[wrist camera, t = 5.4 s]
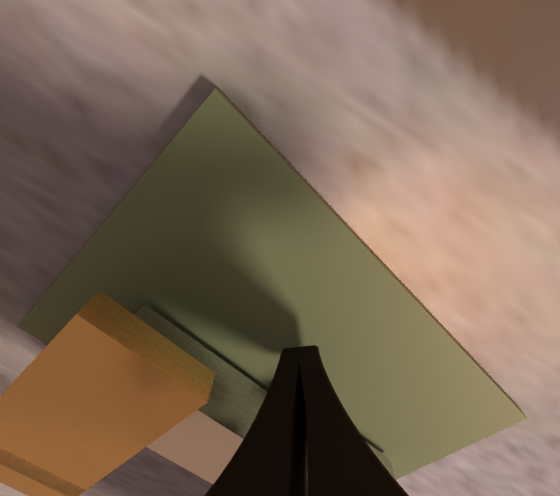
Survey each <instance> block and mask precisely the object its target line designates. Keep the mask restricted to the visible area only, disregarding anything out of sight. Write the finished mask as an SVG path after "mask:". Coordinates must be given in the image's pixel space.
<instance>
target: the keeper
mask: <svg viewBox="0 0 560 496" xmlns="http://www.w3.org/2000/svg"><path fill="white" fill-rule="evenodd" d="M214 377H215V372H213V371H212V370H210V369H209V368H208V367H206V366H205V365H203V364H202V363H201V362H199V361H198V360H196V359H195V358H194V357H192V356H191V355H189V354H188V353H187V352H185V351H184V350H182V349H181V348H180V347H178V346H177V345H175V344H174V343H173V342H171V341H170V340H168V339H167V338H166V337H164V336H163V335H161V334H160V333H159V332H157V331H156V330H154V329H153V328H152V327H150V326H149V325H147V324H146V323H145V322H143V321H142V320H140V319H139V318H138V317H136V316H135V315H133V314H132V313H131V312H129V311H128V310H126V309H125V308H124V307H122V306H121V305H119V304H118V303H117V302H115V301H114V300H112V299H111V298H110V297H108V296H107V295H105V294H104V293H103V292H101V291H100V290H99V291H98V292H97V293H96V294H95V295H94V296H93V297H92V298H91V299H90V300H89V302H88V303H87V304H86V305H85V306H84V307H83V308H82V309H81V310H80V311H79V312H78V313H77V314H76V315H75V316H74V317H73V318H72V319H71V320H70V321H69V322H68V323H67V325H66V326H65V327H64V328H63V329H62V330H61V331H60V332H59V333H58V334H57V335H56V337H55V338H54V339H53V340H52V341H51V342H50V343H49V344H48V345H47V346H46V347H45V348H44V350H43V351H42V352H41V353H40V354H39V355H38V356H37V357H36V358H35V359H34V360H33V361H32V363H31V364H30V365H29V366H28V367H27V368H26V369H25V370H24V371H23V372H22V373H21V375H20V376H19V377H18V378H17V379H16V380H15V381H14V382H13V383H12V384H11V385H10V386H9V388H8V389H7V390H6V391H5V392H4V393H3V394H2V395H1V396H0V482H1V483H3V484H5V485H7V486H9V487H12V488H14V489H16V490H18V491H20V492H22V493H24V494H27V495H29V496H79V495H80V494H82V493H83V492H84V491H86V490H87V489H88V488H90V487H91V486H93V485H94V484H95V483H97V482H98V481H100V480H101V479H102V478H104V477H105V476H106V475H108V474H109V473H111V472H112V471H113V470H115V469H116V468H118V467H119V466H120V465H122V464H123V463H124V462H126V461H127V460H129V459H130V458H131V457H133V456H134V455H135V454H137V453H138V452H140V451H141V450H142V449H144V448H145V447H147V446H148V445H149V444H151V443H152V442H153V441H155V440H156V439H158V438H159V437H160V436H162V435H163V434H165V433H166V432H167V431H169V430H170V429H171V428H173V427H174V426H176V425H177V424H178V423H180V422H181V421H183V420H184V419H185V418H187V417H188V416H189V415H191V414H192V413H194V412H195V411H196V410H198V409H199V408H200V407H202V406H203V405H205V404H206V403H207V402H208V399H209V395H210V392H211V388H212V384H213V381H214Z"/></svg>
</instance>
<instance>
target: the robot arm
mask: <svg viewBox="0 0 560 496" xmlns="http://www.w3.org/2000/svg"><path fill="white" fill-rule="evenodd" d="M307 469H308V483H307ZM205 496H409V495H408V494H407V493H406V492H405V491H404V490H403V488H402V487H401V486H400V485H399V484H398V482H397V481H396V480H395V479H394V478H393V477H392V475H391V474H390V473H389V471H388V470H387V469H386V468H385V466H384V465H383V464H382V462H381V461H380V460H379V459H378V457H377V456H376V455H375V453H374V452H373V451H372V450H371V448H370V447H369V445H368V444H367V442H366V441H365V440H364V438H363V437H362V435H361V434H360V432H359V431H358V429H357V428H356V426H355V425H354V423H353V422H352V420H351V418H350V417H349V415H348V414H347V412H346V410H345V408H344V407H343V405H342V403H341V401H340V400H339V398H338V396H337V394H336V392H335V390H334V388H333V386H332V384H331V382H330V380H329V378H328V375H327V373H326V371H325V368H324V366H323V363H322V360H321V357H320V353H319V347H317V346H316V345H311V346H302V347H292V348H284V349H283V350H282V351H281V355H280V359H279V362H278V365H277V368H276V371H275V374H274V377H273V379H272V382H271V384H270V387H269V389H268V392H267V394H266V396H265V399H264V401H263V403H262V405H261V407H260V409H259V411H258V413H257V415H256V417H255V419H254V421H253V423H252V425H251V427H250V429H249V430H248V432H247V434H246V436H245V437H244V439H243V441H242V443H241V444H240V446H239V447H238V449H237V451H236V452H235V454H234V455H233V457H232V458H231V460H230V462H229V463H228V464H227V466H226V467H225V469H224V470H223V472H222V473H221V475H220V476H219V477H218V479H217V480H216V481H215V483H214V484H213V485H212V487H211V488H210V489H209V491H208V492H207V493H206V495H205Z"/></svg>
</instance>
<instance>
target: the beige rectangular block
mask: <svg viewBox="0 0 560 496" xmlns="http://www.w3.org/2000/svg"><path fill="white" fill-rule="evenodd" d="M134 315H135V316H136V317H138V318H139V319H140V320H142V321H143V322H145V323H146V324H147V325H149V326H150V327H152V328H153V329H154V330H156V331H157V332H159V333H160V334H161V335H163V336H164V337H166V338H167V339H168V340H170V341H171V342H173V343H174V344H175V345H177V346H178V347H180V348H181V349H182V350H184V351H185V352H187V353H188V354H189V355H191V356H192V357H194V358H195V359H196V360H198V361H199V362H201V363H202V364H203V365H205V366H206V367H208V368H209V369H210V370H212V371H213V372H215V377H214V381H213V384H212V388H211V392H210V395H209V399H208V402H207V403H206V404H205V405H203V406H202V407H200V408H199V409H198V410H196V411H195V412H194V413H192V414H191V415H189V416H188V417H187V418H185V419H184V420H183V421H181V422H180V423H178V424H177V425H176V426H174V427H173V428H171V429H170V430H169V431H167V432H166V433H165V434H163V435H162V436H160V437H159V438H158V439H156V440H155V441H153V442H152V443H151V444H149V445H148V446H147V448H149V449H151V450H152V451H154V452H156V453H158V454H159V455H161V456H163V457H165V458H167V459H168V460H170V461H172V462H174V463H176V464H177V465H179V466H181V467H183V468H184V469H186V470H188V471H190V472H192V473H193V474H195V475H197V476H199V477H200V478H202V479H204V480H206V481H208V482H209V483H211V484H214V483H215V481H216V480H217V479H218V477H219V476H220V475H221V473H222V472H223V470H224V469H225V467H226V466H227V464H228V463H229V462H230V460H231V458H232V457H233V455H234V454H235V452H236V451H237V449H238V447H239V446H240V444H241V443H242V441H243V439H244V437H245V436H246V434H247V432H248V430H249V429H250V427H251V425H252V423H253V421H254V419H255V417H256V415H257V413H258V411H259V409H260V407H261V405H262V403H263V401H264V399H265V396H266V394H267V391H266V390H264V389H263V388H261V387H260V386H259V385H257V384H256V383H254V382H253V381H252V380H250V379H249V378H247V377H246V376H245V375H243V374H242V373H240V372H239V371H238V370H236V369H235V368H233V367H232V366H231V365H229V364H228V363H226V362H225V361H224V360H222V359H221V358H219V357H218V356H217V355H215V354H214V353H212V352H211V351H210V350H208V349H207V348H205V347H204V346H203V345H201V344H200V343H198V342H197V341H196V340H194V339H193V338H191V337H190V336H189V335H187V334H186V333H184V332H183V331H182V330H180V329H179V328H177V327H176V326H175V325H173V324H172V323H170V322H169V321H168V320H166V319H165V318H163V317H162V316H160V315H159V314H158V313H156V312H155V311H153V310H152V309H151V308H149V307H148V306H146V305H145V304H144V305H143V306H142V307H141V308H140V309H139V310H138V311H137V312H136V313H135V314H134ZM367 444H368V443H367ZM368 445H369V447H370V448H371V450H372V451H373V452H374V453H375V455H376V456H377V457H378V459H379V460H380V461H381V462H382V464H383V465H384V466H385V468H386V469H387V470H388V471H389V473H390V474H391V475H392V477H393V478H394V479H395V475H394V471H393V468H392V464H391V460H390V459H389V458H387V457H386V456H385V455H383V454H382V453H381V452H379V451H378V450H377V449H375V448H374V447H372V446H371V445H370V444H368ZM395 480H396V479H395ZM307 483H308V469H307Z"/></svg>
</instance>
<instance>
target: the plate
mask: <svg viewBox="0 0 560 496" xmlns="http://www.w3.org/2000/svg"><path fill="white" fill-rule="evenodd" d="M99 290H100V291H101V292H103V293H104V294H105V295H107V296H108V297H110V298H111V299H112V300H114V301H115V302H117V303H118V304H119V305H121V306H122V307H124V308H125V309H126V310H128V311H129V312H131V313H132V314H133V315H134V314H135V313H136V312H137V311H138V310H139V309H140V308H141V307H142V306H143V305H144V304H145V305H146V306H148V307H149V308H151V309H152V310H153V311H155V312H156V313H158V314H159V315H160V316H162V317H163V318H165V319H166V320H168V321H169V322H170V323H172V324H173V325H175V326H176V327H177V328H179V329H180V330H182V331H183V332H184V333H186V334H187V335H189V336H190V337H191V338H193V339H194V340H196V341H197V342H198V343H200V344H201V345H203V346H204V347H205V348H207V349H208V350H210V351H211V352H212V353H214V354H215V355H217V356H218V357H219V358H221V359H222V360H224V361H225V362H226V363H228V364H229V365H231V366H232V367H233V368H235V369H236V370H238V371H239V372H240V373H242V374H243V375H245V376H246V377H247V378H249V379H250V380H252V381H253V382H254V383H256V384H257V385H259V386H260V387H261V388H263V389H264V390H266V391H267V392H268V389H269V387H270V384H271V382H272V379H273V377H274V374H275V371H276V368H277V365H278V362H279V359H280V355H281V351H282V350H283V349H284V348H292V347H302V346H311V345H316V346H317V347H319V353H320V357H321V360H322V363H323V366H324V368H325V371H326V373H327V375H328V378H329V380H330V382H331V384H332V386H333V388H334V390H335V392H336V394H337V396H338V398H339V400H340V401H341V403H342V405H343V407H344V408H345V410H346V412H347V414H348V415H349V417H350V418H351V420H352V422H353V423H354V425H355V426H356V428H357V429H358V431H359V432H360V434H361V435H362V437H363V438H364V440H365V441H366V442H367V443H368V444H370V445H371V446H372V447H374V448H375V449H377V450H378V451H379V452H381V453H382V454H383V455H385V456H386V457H387V458H389V459H390V460H391V464H392V468H393V471H394V475H395V479H398V478H400V477H402V476H404V475H406V474H409V473H411V472H413V471H415V470H417V469H419V468H422V467H424V466H426V465H428V464H430V463H432V462H434V461H437V460H439V459H441V458H443V457H445V456H447V455H450V454H452V453H454V452H456V451H458V450H460V449H462V448H465V447H467V446H469V445H471V444H473V443H475V442H477V441H480V440H482V439H484V438H486V437H488V436H490V435H493V434H495V433H497V432H499V431H501V430H503V429H505V428H508V427H510V426H512V425H514V424H516V423H518V422H521V421H523V420H525V419H527V417H526V416H525V415H524V413H523V412H522V410H521V409H520V408H519V406H518V405H517V404H516V403H515V402H514V401H513V400H512V399H511V398H510V397H509V396H508V395H507V394H506V393H505V392H504V391H503V389H502V388H501V387H500V386H499V385H498V384H497V383H496V382H495V381H494V380H493V379H492V378H491V377H490V376H489V375H488V374H487V372H486V371H485V370H484V369H483V368H482V367H481V366H480V365H479V364H478V363H477V362H476V361H475V360H474V359H473V358H472V357H471V355H470V354H469V353H468V352H467V351H466V350H465V349H464V348H463V347H462V346H461V345H460V344H459V343H458V342H457V341H456V340H455V338H454V337H453V336H452V335H451V334H450V333H449V332H448V331H447V330H446V329H445V328H444V327H443V326H442V325H441V324H440V323H439V321H438V320H437V319H436V318H435V317H434V316H433V315H432V314H431V313H430V312H429V311H428V310H427V309H426V308H425V307H424V306H423V304H422V303H421V302H420V301H419V300H418V299H417V298H416V297H415V296H414V295H413V294H412V293H411V292H410V291H409V290H408V289H407V287H406V286H405V285H404V284H403V283H402V282H401V281H400V280H399V279H398V278H397V277H396V276H395V275H394V274H393V273H392V272H391V270H390V269H389V268H388V267H387V266H386V265H385V264H384V263H383V262H382V261H381V260H380V259H379V258H378V257H377V256H376V255H375V253H374V252H373V251H372V250H371V249H370V248H369V247H368V246H367V245H366V244H365V243H364V242H363V241H362V240H361V239H360V238H359V236H358V235H357V234H356V233H355V232H354V231H353V230H352V229H351V228H350V227H349V226H348V225H347V224H346V223H345V222H344V221H343V219H342V218H341V217H340V216H339V215H338V214H337V213H336V212H335V211H334V210H333V209H332V208H331V207H330V206H329V205H328V204H327V202H326V201H325V200H324V199H323V198H322V197H321V196H320V195H319V194H318V193H317V192H316V191H315V190H314V189H313V188H312V187H311V185H310V184H309V183H308V182H307V181H306V180H305V179H304V178H303V177H302V176H301V175H300V174H299V173H298V172H297V171H296V170H295V168H294V167H293V166H292V165H291V164H290V163H289V162H288V161H287V160H286V159H285V158H284V157H283V156H282V155H281V154H280V153H279V151H278V150H277V149H276V148H275V147H274V146H273V145H272V144H271V143H270V142H269V141H268V140H267V139H266V138H265V137H264V136H263V134H262V133H261V132H260V131H259V130H258V129H257V128H256V127H255V126H254V125H253V124H252V123H251V122H250V121H249V120H248V119H247V117H246V116H245V115H244V114H243V113H242V112H241V111H240V110H239V109H238V108H237V107H236V106H235V105H234V104H233V103H232V102H231V100H230V99H229V98H228V97H227V96H226V95H225V94H224V93H223V92H222V91H221V90H220V89H218V88H215V89H214V90H213V91H212V93H211V94H210V95H209V96H208V97H207V99H206V100H205V101H204V102H203V103H202V105H201V106H200V107H199V108H198V109H197V111H196V112H195V113H194V114H193V115H192V117H191V118H190V119H189V120H188V121H187V123H186V124H185V125H184V126H183V127H182V129H181V130H180V131H179V132H178V133H177V135H176V136H175V137H174V138H173V139H172V141H171V142H170V143H169V144H168V145H167V147H166V148H165V149H164V150H163V151H162V153H161V154H160V155H159V156H158V157H157V159H156V160H155V161H154V162H153V163H152V165H151V166H150V167H149V168H148V169H147V171H146V172H145V173H144V174H143V175H142V177H141V178H140V179H139V180H138V182H137V183H136V184H135V185H134V186H133V188H132V189H131V190H130V191H129V192H128V194H127V195H126V196H125V197H124V198H123V200H122V201H121V202H120V203H119V204H118V206H117V207H116V208H115V209H114V210H113V212H112V213H111V214H110V215H109V216H108V218H107V219H106V220H105V221H104V222H103V224H102V225H101V226H100V227H99V228H98V230H97V231H96V232H95V233H94V234H93V236H92V237H91V238H90V239H89V240H88V242H87V243H86V244H85V245H84V246H83V248H82V249H81V250H80V251H79V252H78V254H77V255H76V256H75V257H74V258H73V260H72V261H71V262H70V263H69V264H68V266H67V267H66V268H65V269H64V270H63V272H62V273H61V274H60V275H59V277H58V278H57V279H56V280H55V281H54V283H53V284H52V285H51V286H50V287H49V289H48V290H47V291H46V292H45V293H44V295H43V296H42V297H41V298H40V299H39V301H38V302H37V303H36V304H35V305H34V307H33V308H32V309H31V310H30V311H29V313H28V314H27V315H26V316H25V317H24V319H23V320H22V321H21V322H20V323H19V325H18V326H19V327H20V328H22V329H23V330H25V331H27V332H28V333H30V334H31V335H33V336H35V337H36V338H38V339H39V340H41V341H43V342H44V343H46V344H49V343H50V342H51V341H52V340H53V339H54V338H55V337H56V335H57V334H58V333H59V332H60V331H61V330H62V329H63V328H64V327H65V326H66V325H67V323H68V322H69V321H70V320H71V319H72V318H73V317H74V316H75V315H76V314H77V313H78V312H79V311H80V310H81V309H82V308H83V307H84V306H85V305H86V304H87V303H88V302H89V300H90V299H91V298H92V297H93V296H94V295H95V294H96V293H97V292H98V291H99Z"/></svg>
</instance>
